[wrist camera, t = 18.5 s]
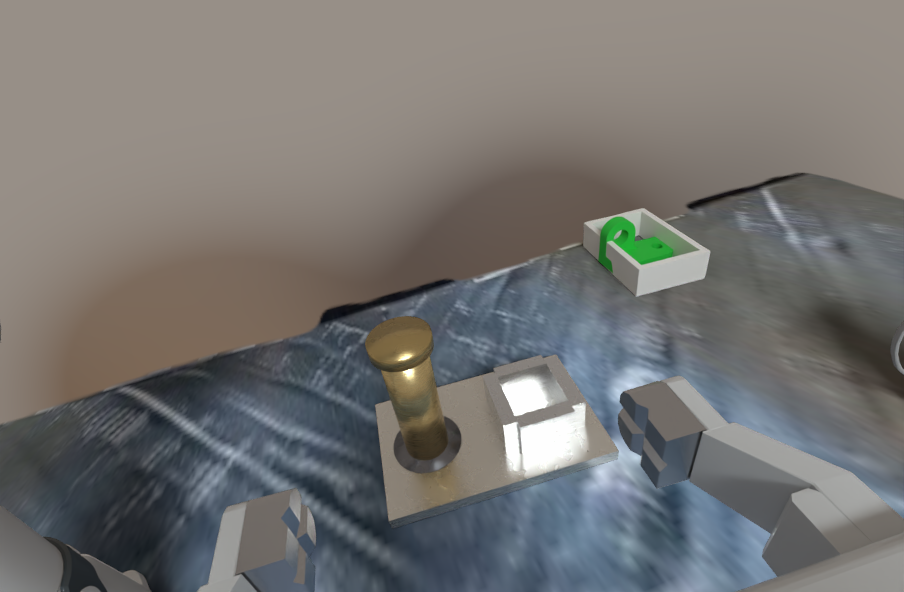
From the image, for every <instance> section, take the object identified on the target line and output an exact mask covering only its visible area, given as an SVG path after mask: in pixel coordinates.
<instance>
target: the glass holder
mask: <svg viewBox="0 0 904 592" xmlns="http://www.w3.org/2000/svg"><path fill="white" fill-rule="evenodd" d="M903 336H904V321H903V322H902V323H901V325H900V326H899V327H898V329H897V330H896V332H895V335H894V337H893V339H892V343H891V349H890V351H891V358H892V361H893V364H894V366H895V367H896V369H897V370H898V371H899V372H900V373H902V374H903V375H904V369H903V368H902V367H901V364H900V362H899V356H898V351H899V345H900V343H901V340H902V338H903Z"/></svg>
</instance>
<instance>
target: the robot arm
mask: <svg viewBox="0 0 904 592" xmlns="http://www.w3.org/2000/svg"><path fill="white" fill-rule="evenodd" d="M0 340H1V325H0ZM620 403H621V405H622V406H623V409H622V410H621V412H620V413H619V414H618V425H619V429H620V433H621V435H622V437H623V439H624V441H625V443H626V444H627V446H628V447H629V449H630V450H631V451H633V452H635V453H637V454H639V455H640V456H641V467H642V468H643V470H644V471H645V472H646V474H647V475H648V477H649V478H650V480H651V481H652V483H653V484H654V486H655V487H656V488H660V487H664V486H667V485H671V484H674V483H678V482H681V481H685V480H688V479H690V480H689V481H690V482H691V483H693V484H694V485H696V486H697V487H699V488H701V489H702V490H704V491H705V492H707V493H708V494H710V495H711V496H713V497H715V498H716V499H718V500H719V501H721V502H722V503H724V504H725V505H727V506H729V507H730V508H732V509H733V510H735V511H736V512H738V513H740V514H741V515H743V516H744V517H746V518H747V519H749V520H750V521H752V522H754V523H755V524H757V525H758V526H760V527H761V528H763V529H764V530H766V531H768V532H769V533H771V535H770V537H769V539H768V541H767V543H766V545H765V547H764V549H763V554H762V557H763V559H764V560H765V561H766V562H767V564H768V565H769V566H770V568H771V569H772V570H773V572H774V573H775V574H776V575H777V577H776V578H773V579H770V580H767V581H764V582H761V583H759V584H756V585H753V586H750V587H747V588H744V589H742V590H739V591H736V592H904V519H903V518H902V517H901V516H900V515H899V514H898V513H897V512H895V511H894V510H893V509H892V508H891V507H890V506H889V505H888V504H886V503H885V502H884V501H883V500H882V499H881V498H880V497H879V496H877V495H876V494H875V493H874V492H873V491H872V490H871V489H870V488H868V487H867V486H866V485H865V484H864V483H863V482H862V481H861V480H860V479H858V478H857V477H856V476H855V475H854V474H853V473H852V472H849V471H847V470H845V469H842V468H840V467H838V466H835V465H833V464H831V463H828V462H826V461H824V460H821V459H819V458H817V457H814V456H812V455H810V454H807V453H805V452H803V451H800V450H798V449H796V448H793V447H791V446H789V445H786V444H784V443H782V442H779V441H777V440H775V439H772V438H770V437H768V436H765V435H763V434H761V433H758V432H756V431H754V430H751V429H749V428H747V427H744V426H742V425H740V424H737V423H735V422H733V423H729V424H728V423H727V422H726V421H725V420H724V419H723V417H722V416H721V415H720V414H719V413H718V412H717V411H716V410H715V409H714V408H713V407H712V406H711V405H710V404H709V403H708V402H707V401H706V400H705V399H704V398H703V397H702V396H701V395H700V394H699V393H698V392H697V391H696V390H695V389H694V388H693V387H692V386H691V385H690V384H689V383H688V382H687V380H686V379H685V378H683V377H681V376H675V377H671V378H668V379H665V380H662V381H656V382H653V383H650V384H647V385H643V386H640V387H637V388H634V389H630V390H627V391H624V392H623V393H622V394H621V395H620ZM315 547H316V532H315V524H314V519H313V516H312V513H311V511H310V509H309V508H308V506H305V505H302V504H301V495H300V493H299V492H298V490H297V489H296V488H294V489H290V490H287V491H283V492H279V493H275V494H272V495H268V496H264V497H261V498H257V499H253V500H249V501H246V502H242V503H239V504H235V505H232V506H228V507H227V508H226V510H225V512H224V514H223V516H222V520H221V525H220V530H219V534H218V539H217V544H216V548H215V553H214V558H213V562H212V567H211V572H210V577H209V581H208V584H207V585H204V586H201V587H200V588H199V590H198V591H197V592H314V591H315V566H314V564H313V563H312V561H311V560H310V558H309V557H310V556H311V554H312V552H313V551H314V549H315ZM0 592H152V591H150V589H149V586H148V584H147V581H146V579H145V577H144V576H143V575H142V574H141V573H139V572H137V571H135V570H129V571H126V572H124V573H121V572H119V571H118V570H116V569H114V568H112V567H110V566H109V565H107V564H105V563H103V562H101V561H100V560H98V559H96V558H94V557H92V556H90V555H88V554H80V552H79V551H78V550H76V549H75V548H73V547H72V546H70V545H68V544H64V543H63V542H61V541H59V540H57V539H54V538H51V537H42V536H41V535H39V534H38V533H37V532H36V531H34V530H33V529H32V528H30V527H29V526H28V525H26V524H25V523H24V522H22V521H21V520H20V519H18V518H17V517H16V516H14V515H13V514H12V513H10V512H9V511H8V510H7V509H5V508H4V507H3V506H1V505H0Z"/></svg>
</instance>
